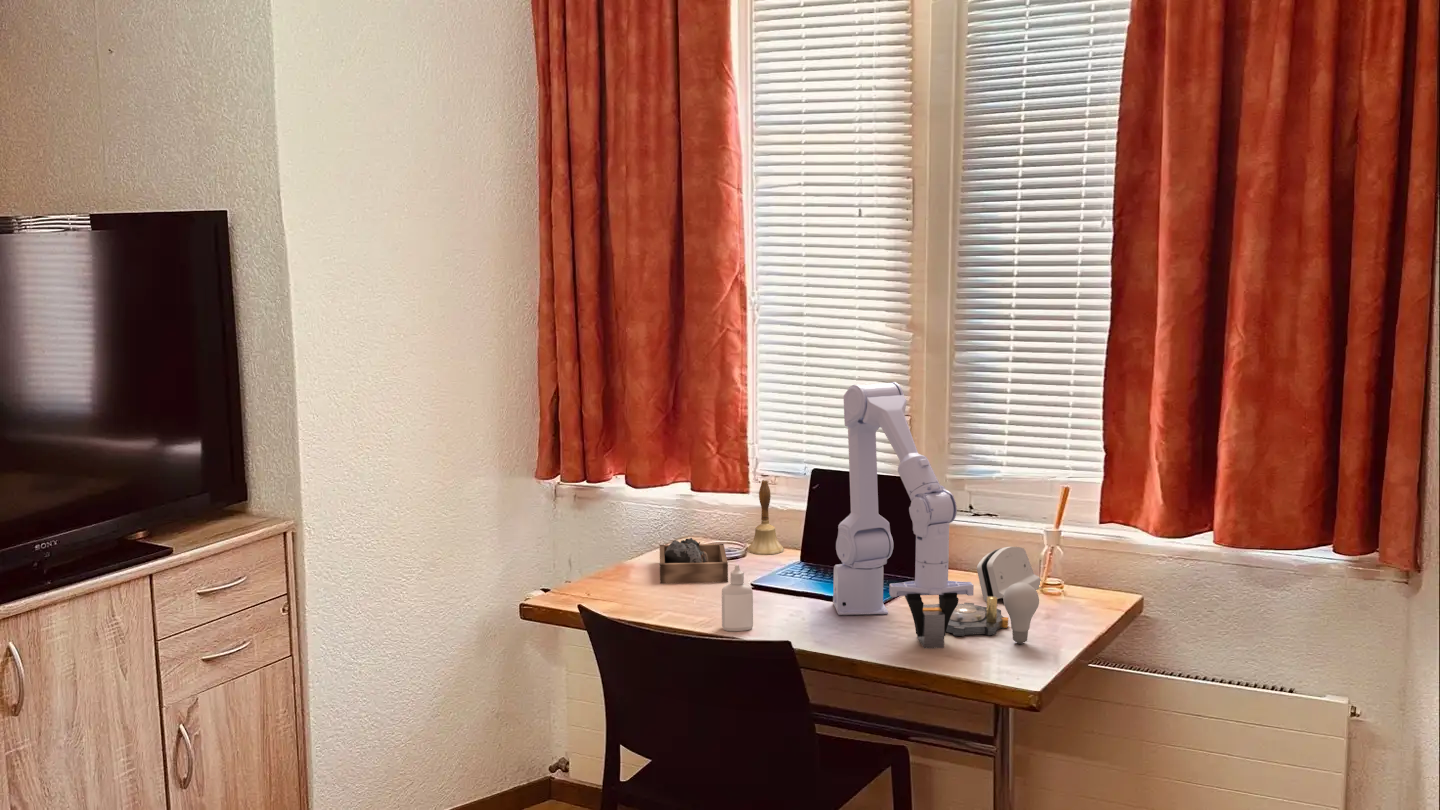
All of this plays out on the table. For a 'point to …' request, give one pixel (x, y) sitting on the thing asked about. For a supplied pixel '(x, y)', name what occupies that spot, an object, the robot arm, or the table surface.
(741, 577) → the eye dropper bottle
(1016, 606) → the lightbulb
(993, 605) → the sprocket
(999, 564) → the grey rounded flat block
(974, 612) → the hub
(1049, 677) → the table surface
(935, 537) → the robot arm
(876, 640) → the table surface
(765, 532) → the hand bell
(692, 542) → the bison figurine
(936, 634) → the marked link
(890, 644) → the table surface
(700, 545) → the open wooden box
